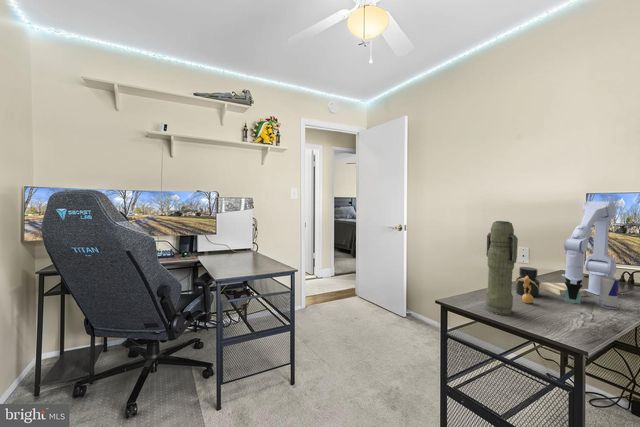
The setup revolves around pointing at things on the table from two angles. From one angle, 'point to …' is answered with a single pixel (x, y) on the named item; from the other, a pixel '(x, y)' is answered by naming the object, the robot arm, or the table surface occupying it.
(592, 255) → the robot arm
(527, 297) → the figurine
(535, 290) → the ink bottle
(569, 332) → the table surface
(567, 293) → the teal cube
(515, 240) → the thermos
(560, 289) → the birch block
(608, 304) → the energy drink
